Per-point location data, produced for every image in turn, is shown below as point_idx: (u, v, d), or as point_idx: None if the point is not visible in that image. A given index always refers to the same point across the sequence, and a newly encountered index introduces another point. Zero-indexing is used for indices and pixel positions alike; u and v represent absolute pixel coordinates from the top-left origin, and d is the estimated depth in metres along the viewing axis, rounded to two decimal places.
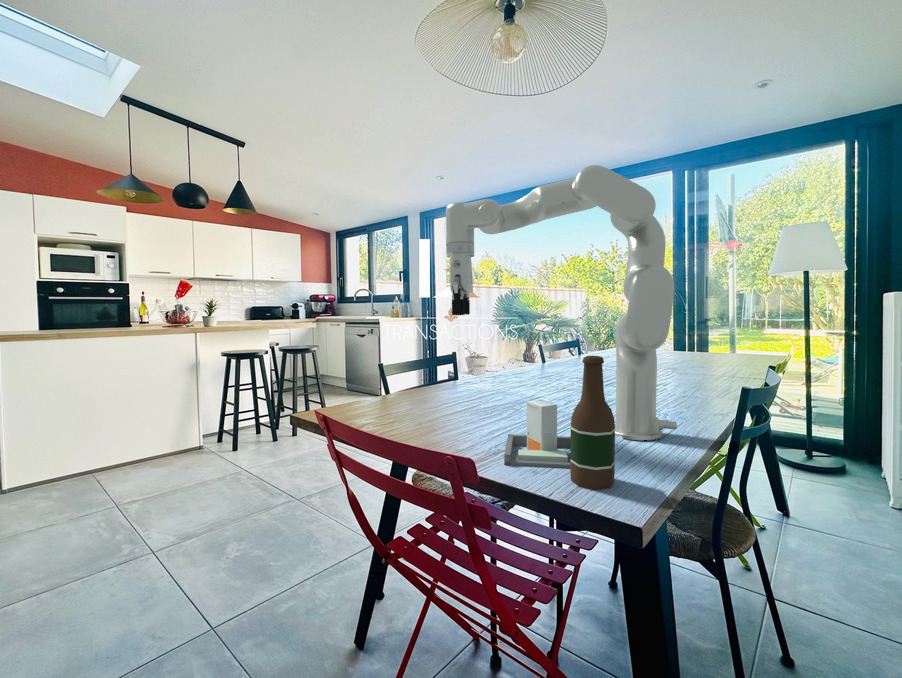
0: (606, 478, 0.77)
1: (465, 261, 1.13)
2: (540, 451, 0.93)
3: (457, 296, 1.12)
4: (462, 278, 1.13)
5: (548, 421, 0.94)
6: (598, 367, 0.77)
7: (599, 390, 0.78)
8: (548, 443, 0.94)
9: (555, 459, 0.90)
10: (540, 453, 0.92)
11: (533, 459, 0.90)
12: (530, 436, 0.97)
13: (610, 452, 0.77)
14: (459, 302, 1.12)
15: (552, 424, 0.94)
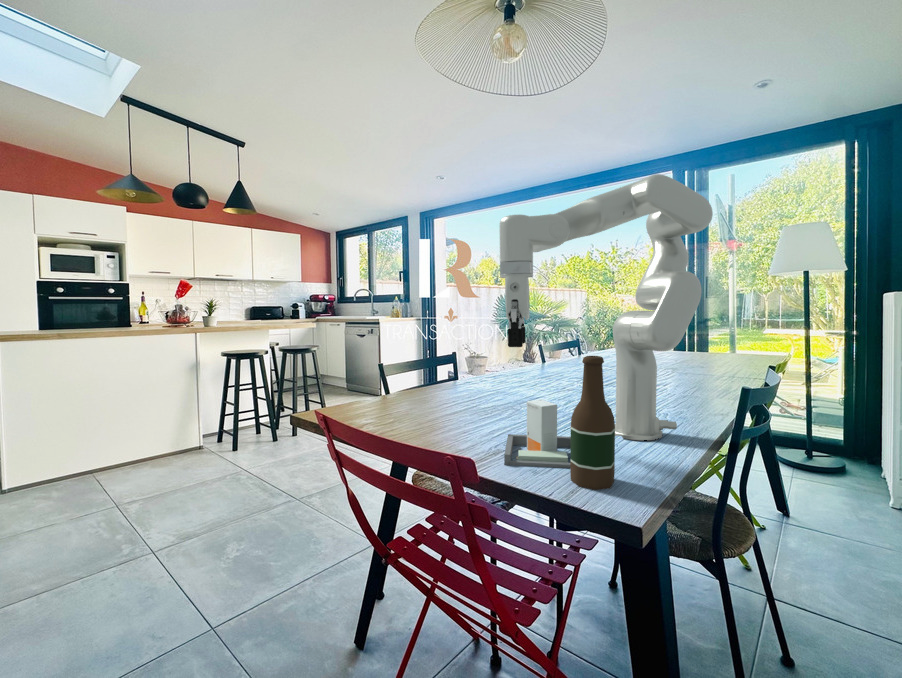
0: (606, 478, 0.77)
1: (524, 284, 0.96)
2: (540, 452, 0.93)
3: (515, 325, 0.95)
4: (520, 304, 0.96)
5: (548, 421, 0.94)
6: (598, 367, 0.77)
7: (599, 390, 0.78)
8: (548, 443, 0.94)
9: (555, 460, 0.89)
10: (540, 454, 0.91)
11: (533, 460, 0.90)
12: (530, 436, 0.97)
13: (610, 452, 0.77)
14: (517, 332, 0.95)
15: (552, 424, 0.94)
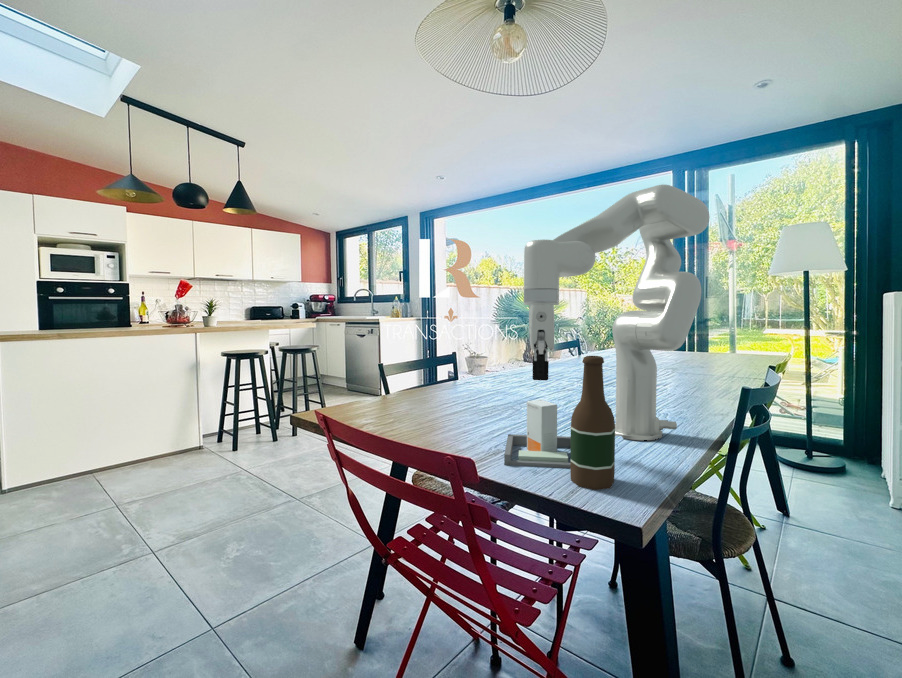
0: (606, 478, 0.77)
1: (551, 313, 0.90)
2: (540, 452, 0.92)
3: (541, 358, 0.89)
4: (547, 334, 0.90)
5: (548, 421, 0.94)
6: (598, 367, 0.77)
7: (599, 390, 0.78)
8: (548, 443, 0.94)
9: (555, 460, 0.89)
10: (540, 454, 0.91)
11: (533, 460, 0.90)
12: (530, 436, 0.97)
13: (610, 452, 0.77)
14: (543, 365, 0.90)
15: (552, 423, 0.94)
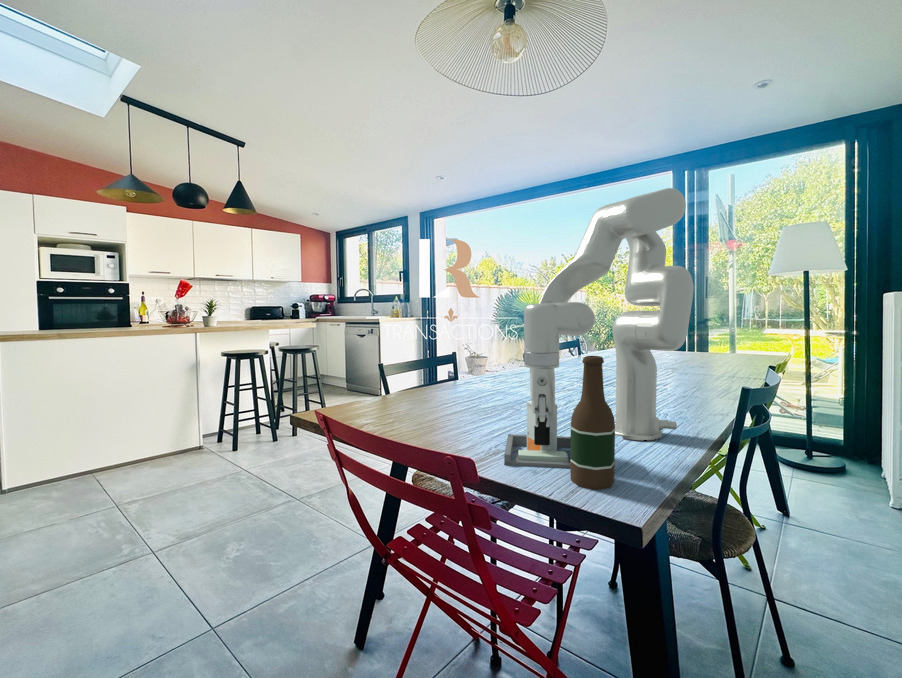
0: (606, 478, 0.77)
1: (552, 378, 0.91)
2: (540, 451, 0.93)
3: (543, 424, 0.91)
4: (548, 399, 0.91)
5: None
6: (598, 367, 0.77)
7: (599, 390, 0.78)
8: None
9: (555, 459, 0.89)
10: (540, 453, 0.91)
11: (533, 459, 0.90)
12: (530, 436, 0.97)
13: (610, 452, 0.77)
14: (544, 431, 0.92)
15: (552, 423, 0.94)
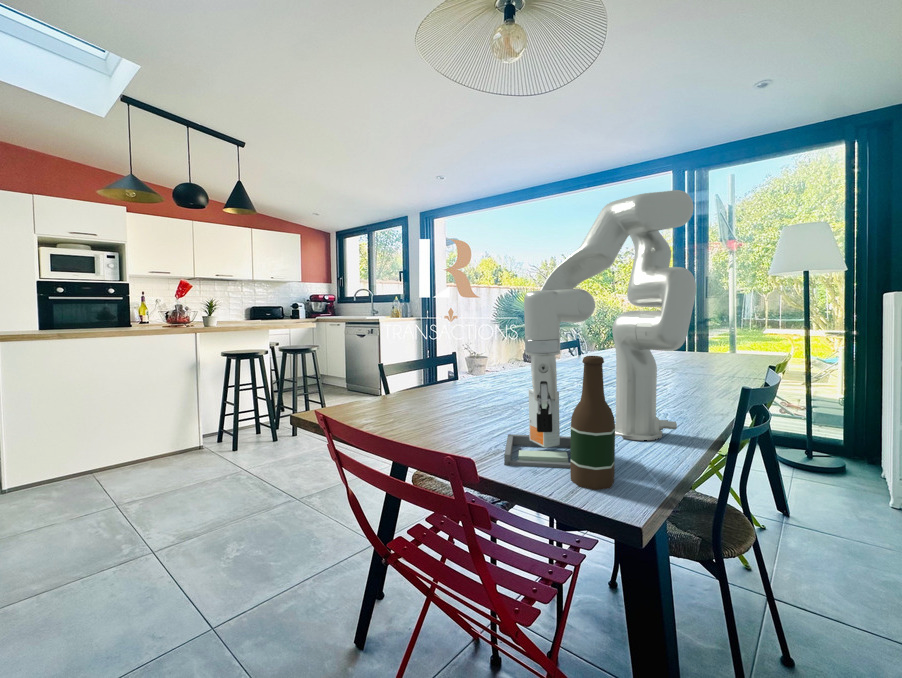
0: (606, 478, 0.77)
1: (553, 365, 0.91)
2: (540, 452, 0.93)
3: (545, 411, 0.91)
4: (550, 386, 0.91)
5: None
6: (598, 367, 0.77)
7: (599, 390, 0.78)
8: None
9: (555, 460, 0.89)
10: (540, 454, 0.91)
11: (533, 460, 0.90)
12: (533, 423, 0.97)
13: (610, 452, 0.77)
14: (547, 418, 0.92)
15: (554, 411, 0.94)
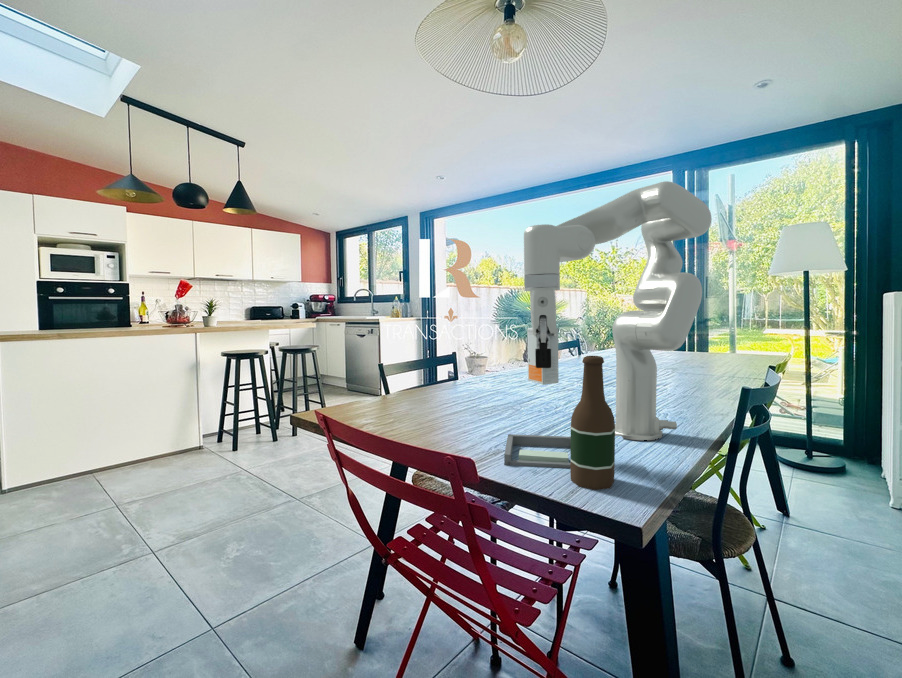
0: (606, 478, 0.77)
1: (552, 298, 0.90)
2: (541, 452, 0.93)
3: (544, 345, 0.90)
4: (549, 320, 0.90)
5: None
6: (598, 367, 0.77)
7: (599, 390, 0.78)
8: None
9: (556, 460, 0.89)
10: (541, 454, 0.91)
11: (533, 460, 0.90)
12: (531, 362, 0.96)
13: (610, 452, 0.77)
14: (545, 352, 0.91)
15: (553, 347, 0.93)
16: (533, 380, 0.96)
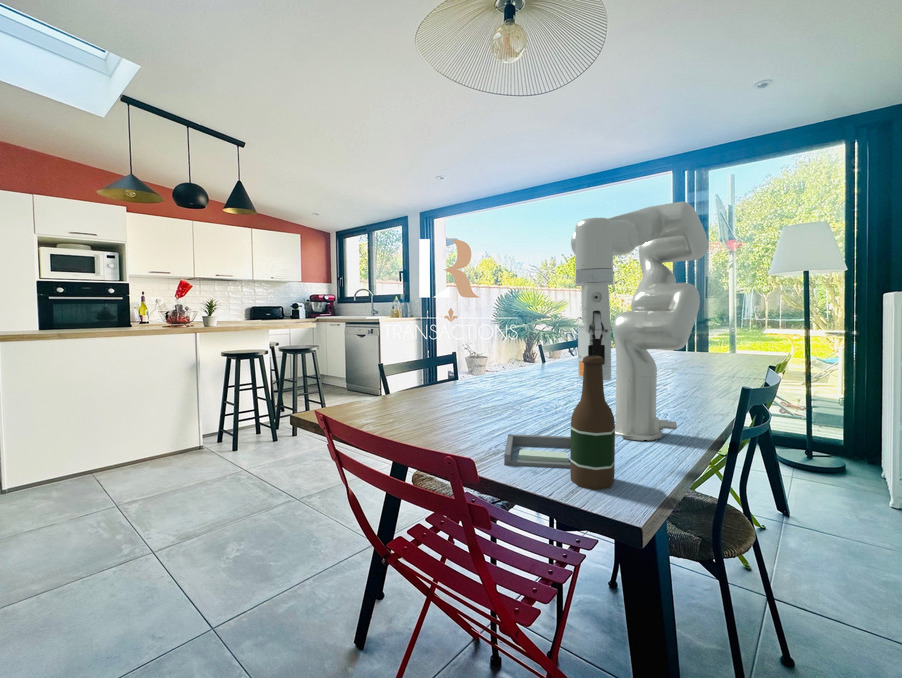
0: (606, 478, 0.77)
1: (606, 293, 0.88)
2: (541, 451, 0.93)
3: (598, 342, 0.88)
4: (603, 315, 0.88)
5: None
6: (598, 367, 0.77)
7: (599, 390, 0.78)
8: None
9: (555, 460, 0.89)
10: (541, 453, 0.91)
11: (533, 459, 0.90)
12: (582, 358, 0.94)
13: (610, 452, 0.77)
14: (599, 349, 0.89)
15: (606, 343, 0.91)
16: None
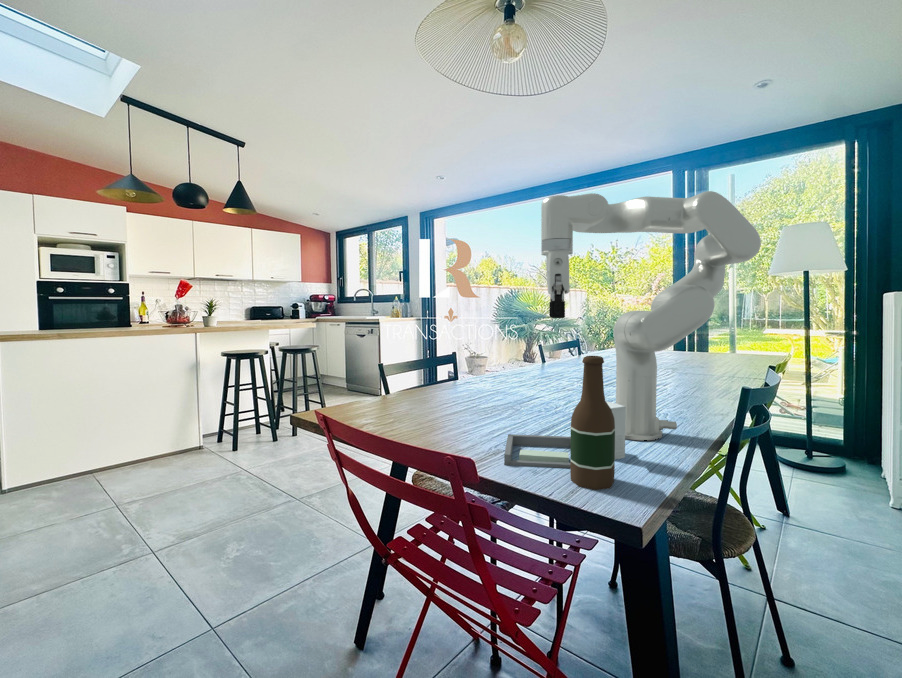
0: (606, 478, 0.77)
1: (566, 259, 1.03)
2: (542, 451, 0.93)
3: (559, 297, 1.02)
4: (563, 278, 1.03)
5: (617, 423, 0.91)
6: (598, 367, 0.77)
7: (599, 390, 0.78)
8: (617, 446, 0.92)
9: (556, 460, 0.90)
10: (541, 453, 0.92)
11: (534, 459, 0.91)
12: None
13: (610, 452, 0.77)
14: (560, 304, 1.03)
15: (620, 426, 0.92)
16: None
